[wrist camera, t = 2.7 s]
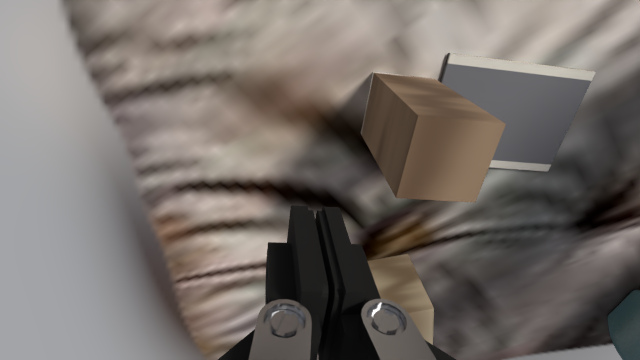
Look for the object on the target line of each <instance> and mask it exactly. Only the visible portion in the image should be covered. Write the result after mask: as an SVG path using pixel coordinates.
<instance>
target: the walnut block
mask: <svg viewBox="0 0 640 360" xmlns="http://www.w3.org/2000/svg"><path fill="white" fill-rule="evenodd" d="M505 125H506V124H505V123H504V122H502V121H501V120H499V119H497V118H496V117H494V116H493V115H491V114H490V113H488V112H486V111H485V110H483V109H482V108H480V107H478V106H477V105H475V104H474V103H472V102H471V101H469V100H467V99H466V98H464V97H463V96H461V95H460V94H458V93H456V92H455V91H453V90H452V89H450V88H449V87H447V86H445V85H444V84H442V83H441V82H439V81H437V80H436V79H432V78H423V77H414V76H405V75H396V74H388V73H379V72H373V74H372V79H371V84H370V89H369V94H368V99H367V105H366V110H365V115H364V120H363V125H362V130H361V135H362V137H363V139H364V140H365V142H366V144H367V146H368V148H369V149H370V151H371V153H372V155H373V157H374V159H375V160H376V162H377V164H378V166H379V168H380V169H381V171H382V173H383V175H384V177H385V179H386V180H387V182H388V184H389V186H390V188H391V189H392V191H393V193H394V195H395V197H396V198H407V199H424V200H442V201H459V202H476V199H477V197H478V194H479V192H480V189H481V186H482V184H483V181H484V179H485V176H486V174H487V171H488V169H489V166H490V164H491V161H492V158H493V156H494V153H495V151H496V148H497V146H498V143H499V141H500V138H501V136H502V133H503V130H504V128H505Z"/></svg>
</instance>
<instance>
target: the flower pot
mask: <svg viewBox="0 0 640 360" xmlns="http://www.w3.org/2000/svg"><path fill="white" fill-rule="evenodd" d="M607 319H608V328H609V333H610V336H611V339H612V342H613V344H614V346H615V348H616V350H617V352H618V353H619V355H620V356H621V358H622V359H623V360H640V290H634V291H632V292H631V293H630V294H629V295H628V296H627V297H626V298H625V299H624V300H623V301H622V302H621V303H620V304H619V305H618V306H617V307H616V308H615V309H614V310H613V311H612V312H611V313H610V314H609V315H608V317H607Z"/></svg>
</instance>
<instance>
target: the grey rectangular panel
mask: <svg viewBox="0 0 640 360" xmlns="http://www.w3.org/2000/svg"><path fill="white" fill-rule="evenodd" d="M595 73H596V72H594V71H588V70H580V69H572V68H564V67H556V66H548V65H540V64H532V63H524V62H516V61H508V60H500V59H492V58H485V57H477V56H469V55H461V54H453V53H449V54H448V57H447V61H446V64H445V68H444V71H443V75H442V78H441V83H442V84H444V85H445V86H447V87H449V88H450V89H452V90H453V91H455V92H456V93H458V94H460V95H461V96H463V97H464V98H466V99H467V100H469V101H471V102H472V103H474V104H475V105H477V106H478V107H480V108H482V109H483V110H485V111H486V112H488V113H490V114H491V115H493V116H494V117H496V118H497V119H499V120H501V121H502V122H504V123H505V124H506V125H505V128H504V130H503V133H502V136H501V138H500V141H499V143H498V146H497V148H496V151H495V153H494V156H493V158H492V161H491V164H490V166H489V167H492V168H506V169H520V170H533V171H547V172H548V170H549V168H550V166H551V164H552V162H553V160H554V158H555V155H556V153H557V151H558V149H559V147H560V145H561V143H562V141H563V139H564V137H565V135H566V133H567V131H568V128H569V126H570V124H571V122H572V120H573V118H574V116H575V114H576V112H577V110H578V108H579V106H580V104H581V101H582V99H583V97H584V95H585V93H586V91H587V89H588V87H589V85H590V83H591V81H592V79H593V77H594V75H595Z"/></svg>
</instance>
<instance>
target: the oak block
mask: <svg viewBox="0 0 640 360" xmlns="http://www.w3.org/2000/svg"><path fill="white" fill-rule="evenodd" d="M368 264H369V267H370V270H371V272H372V275H373V278H374V281H375V284H376V286H377V289H378V292H379V295H380V297H381V299H386V300H391V301H393V302H395V303H397V304H399V305H400V306H401V307H403V308H404V309H405V310H406V311H407V312H408V314H409V315H410V317H411V318H412V320H413V322H414V323H415V325H416V327H417V328H418V330H419V331H420V333H421V335H422V336H423V338H424V340H426V341H427V342H429V343H431V344H432V345H433V323H434V307H433V305H432V303H431V301H430V299H429V297H428V295H427V293H426V291H425V289H424V287H423V285H422V282H421V280H420V278H419V276H418V274H417V272H416V270H415V268H414V266H413V264H412V262H411V260H410V258H409V256H408V254H405V255H399V256H394V257H388V258H382V259H377V260H371V261H368Z"/></svg>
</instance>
